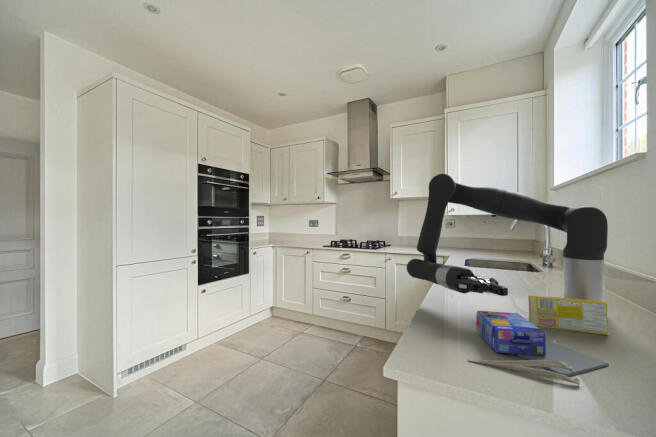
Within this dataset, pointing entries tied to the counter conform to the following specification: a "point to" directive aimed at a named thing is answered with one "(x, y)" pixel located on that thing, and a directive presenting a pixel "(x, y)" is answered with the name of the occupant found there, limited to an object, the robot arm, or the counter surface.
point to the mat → (567, 359)
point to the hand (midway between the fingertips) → (505, 291)
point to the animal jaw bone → (543, 363)
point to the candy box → (569, 314)
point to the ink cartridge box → (510, 333)
